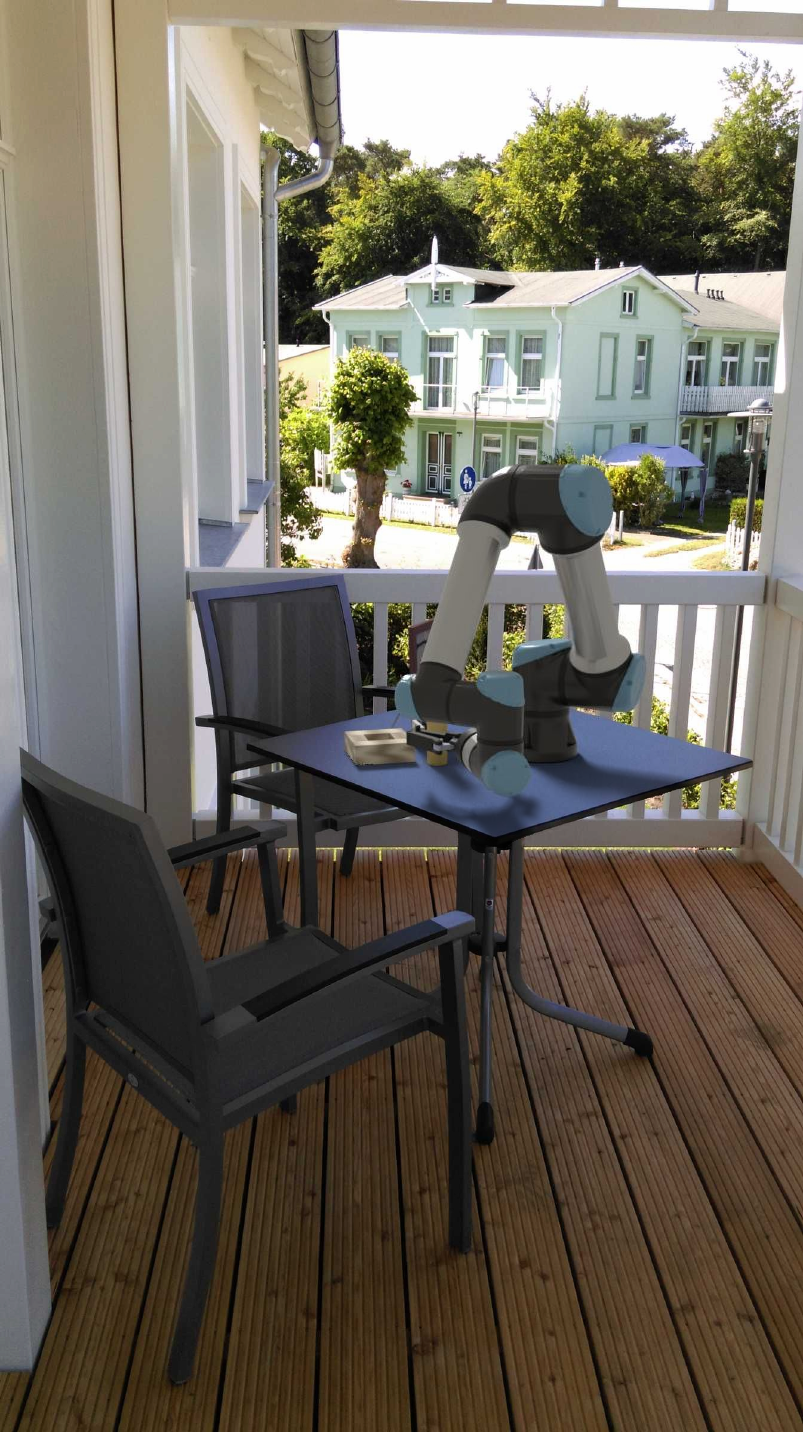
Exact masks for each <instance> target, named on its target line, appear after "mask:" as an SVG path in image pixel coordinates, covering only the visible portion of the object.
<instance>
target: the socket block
mask: <svg viewBox="0 0 803 1432" xmlns="http://www.w3.org/2000/svg"><path fill="white" fill-rule="evenodd" d="M344 751H345V753H346V752H347V753H348V754H347V753H346V754H347V756H348V755H349V756H350V757H349V756H348V757H349V759H350V760H351V759H352V760H353V761H352V760H351V761H352V763H353V762H354V763H355V764H356V765H357V764H360V765H359V766H366V765H365V764H369V765H370V764H373V765H386V764H400V763H416V747H413V746H410V745H407V744H406V731H405V730H404V729H403V728H402V727H398V728H393V729H391V728H384V729H368V730H366V729H365V730H364V729H363V730H348V731H344ZM354 763H353V764H354ZM355 764H354V765H355ZM362 764H363V765H362ZM356 765H355V766H356ZM369 765H368V766H369Z"/></svg>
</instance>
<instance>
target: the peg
mask: <svg viewBox="0 0 803 1432" xmlns="http://www.w3.org/2000/svg"><path fill="white" fill-rule="evenodd" d="M427 730H429V731H435V732H441V733H448V724H443V723H434V722H427ZM426 763H427V765H428V766H432V767H433V766H435V767H438V766H439V767H440V766H445V765H448V752H447V751H446V750H443V752H442V755H436V754H434V753H433V752H430V751H427V750H426Z"/></svg>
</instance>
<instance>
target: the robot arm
mask: <svg viewBox="0 0 803 1432" xmlns="http://www.w3.org/2000/svg"><path fill="white" fill-rule="evenodd" d="M613 503H614V496H613V491H612V487H611V483H610V481H609V479H608V477H607V476H606V474H605V473H604V472H603V471H602V470H601V469H600V468H598V467H596V466H594V465H589V464H580V463H569V464H525V463H515V464H510V465H508V466H507V465H506V466H504V467H502V468H500V469H498V470H497V471H495V472H493V473H492V474H491V475H489V476H488V477H487V478H486V479H485V480H484V481H483V482H482V483H480V484H479V486H478V487H477V488H476V489H475V491H473V493H472V495H471V496H470V497H469V499H468V501H467V502H466V504H465V506H464V508H463V510H462V511H461V514H460V517H459V519H458V523H457V527H456V534H457V535H458V537H459V539H458V543H457V546H456V549H455V552H454V553H453V557H452V561H451V565H450V568H449V571H448V574H447V577H446V580H445V583H444V587H443V590H442V593H441V596H440V600H439V602H438V605H437V609H436V612H435V615H434V617H435V618H434V617H433V618H434V621H433V624H432V627H431V631H430V634H429V637H428V640H427V643H426V646H425V650H424V653H423V656H422V659H421V662H420V665H419V668H418V671H417V674H410V673H409V674H405V675H403V676H402V677H401V678H400V680H399V681H398V682H397V684H396V687H395V691H394V703H395V708H396V710H397V712H398V714H399V713H400V716H401V717H404V718H405V719H410V720H411V728H410V729H408V730H406V731H405V732H406V744H407V745H410V746H413V747H415V748H417V749H419V750H424V751H426V752H427V751H430V752H433V753H434V754H436V755H442V752H443V750H446V751H447V753H453V754H455V755H456V757H457V759H458V761H459V763H460V764H461V765H462V766H463V767H465V768H466V769H467V770H468V771H469V772H471V774H473V776H475V777H476V778H477V779H478V781H480V782H481V783H482V784H483V786H484V787H485V788H486V789H487V790H488V791H490V792H492V793H493V794H496V795H497V796H500V797H504V798H505V797H506V798H507V797H514V796H516V795H519V794H520V793H521V792H523V791H524V790H525V789H526V788H527V787H528V785H529V783H530V780H531V776H532V770H531V766H530V763H559V762H563V761H569V760H571V759H574V758H575V757H577V756H578V741H577V737H576V735H575V731H574V728H573V726H572V721H571V718H570V709H571V708H577V709H584V710H585V709H586V710H591V711H592V710H593V711H599V712H607V713H629V712H631V711H633V710H634V709H635V708H636V707H637V705H638V704H639V701H640V698H641V697H642V693H643V691H644V690H643V689H644V685H645V682H646V675H647V660H646V657H645V655H643V654H641V653H639V652H632V648H631V644H630V642H629V640H628V638H626V636H624V635H623V634H621V633H620V630H619V627H618V621H617V616H616V612H615V607H614V604H613V598H612V594H611V589H610V585H609V580H608V575H607V571H606V565H605V561H604V557H603V552H602V551H603V550H602V547H601V543H600V542H602V541H603V539H604V538H605V536H606V532H607V531H608V530H609V528H610V527H611V524H612V522H613V521H612V520H613V516H614V507H613ZM516 533H532V534H537V538H538V540H539V545H540V547H541V548H542V550H543V551H544V552H546V553H547V554H550V555H551V557H552V561H553V565H554V569H555V573H556V577H557V580H558V585H559V588H560V593H561V597H562V600H563V601H562V602H563V605H564V609H565V612H566V617H567V620H568V625H569V628H570V633H571V636H572V640H571V639H569V638H546V639H538V640H531V641H526V642H522V643H519V644H518V645H516V646H515V647H514V649H513V652H512V659H511V660H512V661H511V666H510V668H511V671H510V670H504V669H503V670H502V669H501V670H500V669H499V670H497V669H495V670H494V669H493V670H492V669H491V670H486V671H482V672H480V673H479V674H478V675H477V679H476V681H474V680H465V679H463V674H464V672H465V669H466V665H467V662H468V659H469V656H470V652H471V649H472V646H473V643H474V639H475V636H476V632H477V629H478V626H479V623H480V620H481V618H482V617H481V616H482V614H483V610H484V607H485V605H486V601H487V598H488V594H489V591H490V587H491V584H492V582H493V581H492V580H493V578H494V575H495V571H496V568H497V565H498V561H499V559H500V555H501V552H502V551H503V550H506V549H507V548H508V547H509V546H510V543H511V539H512V537H513V535H514V534H516ZM572 641H573V642H572ZM573 644H574V645H573ZM412 719H414V720H412ZM417 720H418V721H422V722H434V723H443V724H447V725H453V726H458V727H466V728H468V729H466V730H465V731H462V732H455V731H447V733H441V732H435V731H429V730H425V728H424V727H423V726H422V725H421V724H420V723H419V722H418V721H417Z"/></svg>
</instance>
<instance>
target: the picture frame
mask: <svg viewBox="0 0 803 1432" xmlns="http://www.w3.org/2000/svg"><path fill="white" fill-rule="evenodd" d="M434 618H435V616H434V617H432V618H430V619H426V620H424V621H421V622H419V623H417V624H416V623H415V624H413V625H411V626H408V627H407V636H408V637H407V638H408V662H409V663H408V664H409V674H417V671H418V668H419V665H420V662H421V659H422V656H423V653H424V650H425V646H426V643H427V640H428V637H429V634H430V631H431V627H432V624H433V621H434ZM400 716H401V715H400V713H399V712H398V714H397V716H396V718H395V720H394V721H393V723H392V725H391V727H390V729H394V727H395V725H396V723H397V721H398V720H399V718H400ZM412 720H414V719H411V721H412ZM417 721H418V720H417ZM418 722H419V723H420V724H421V725H422V726H423V727H424V728H425V730H427V722H422V721H418Z"/></svg>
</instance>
